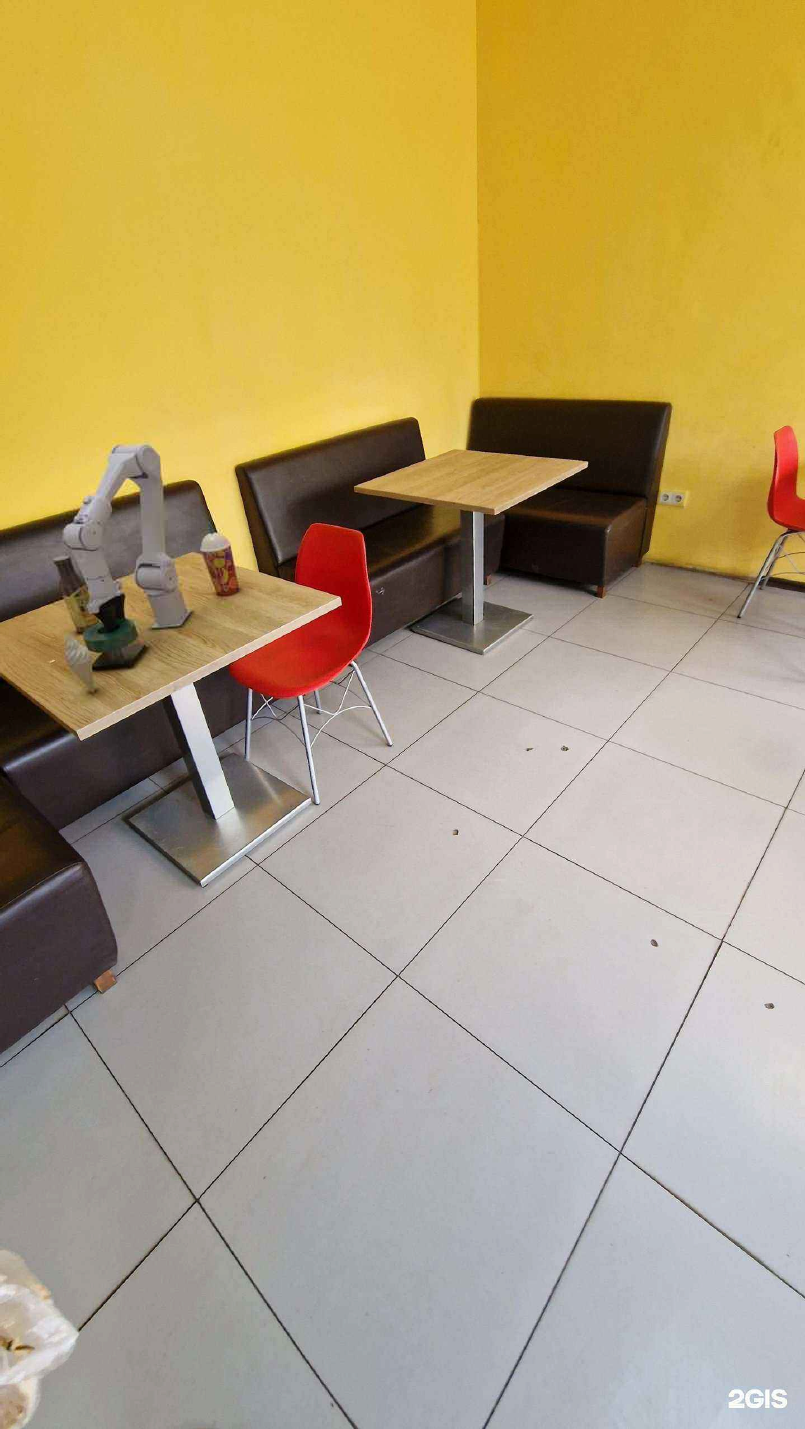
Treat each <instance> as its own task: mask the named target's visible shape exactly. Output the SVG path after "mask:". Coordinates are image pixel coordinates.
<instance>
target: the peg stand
mask: <svg viewBox="0 0 805 1429" xmlns="http://www.w3.org/2000/svg"><path fill="white" fill-rule="evenodd" d="M147 649H148V646H147V644H146V643H139V644H129V645H127V646H126V647H124V648H121V649H117V650H114V651H111V652H102V653H100V655H99V656H98V657H97V658H96V659H95V660H94V661H93V662H92V663H91V664H92V672H95V671H111V670H121V669H132V668H133V667H134V665H135V664H136V663H137V662H138V661H139V659H140V658H141V657H142V656H143V654H144V653H145V652H146V650H147Z"/></svg>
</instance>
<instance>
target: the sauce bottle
mask: <svg viewBox="0 0 805 1429" xmlns="http://www.w3.org/2000/svg"><path fill="white" fill-rule="evenodd" d="M52 561H53V563H54V565H55V566H56V569H57V571H58V574H59V576H60V578H59V583H58V584H59V586H58V587H59V589H60V591H61V594H62V597H63V600H64V603H65V605H66V607H67V610H68V612H69V615H70V618H71V621H72V622H73V625H74V627H75V628H76V631H77V632H79V633H82V634H83V633H84V632H85V631H86V630H87V629H88V628H89V627H91V626H93V625H95V624H97V623H99V622H100V620H99V619H98V618H97V617H96V616H95V615H93V614H92V613H91V614H90V613H89V611H88V609H87V605H88V604H89V600H90V596H91V594H90V592H89V589H88V587H87V584H86V583H85V582H84V581H83V580H82V579H81V577H80V576H79V574H78V573H77V572H76V570H75V567H74V564H73V561H72V558H71V556H70V555H68V554H67V555H60V556H57V557H55V558H53V560H52Z"/></svg>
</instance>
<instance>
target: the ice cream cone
mask: <svg viewBox="0 0 805 1429" xmlns="http://www.w3.org/2000/svg"><path fill="white" fill-rule="evenodd" d="M64 647H66V649H65V650H64V652H63V653H64V654H65V655H64V656H63V657H64V659H67V660H66V661H65V662H66V665H67V666H68V667H69V668H70V669H71V670H72V672H73V673H74V674H75V675H77V677H78V678H79V680H80V681H81V682H82V683H83V684H84V685H85V686H86V688H88V690H89V691H90V692H91V693H94V692H95V685H94V684H95V683H94V674H93V673H94V672H93V671H92V664H93V663H92V655H91V654H90V651H89V650H88V648H87V647H86V646H84V645H82V644H80V643H79V641H78V640H77V639H75V638H74V637H73V636H71V635H70V633H69V632H68V631H65V645H64Z"/></svg>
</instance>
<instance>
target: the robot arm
mask: <svg viewBox="0 0 805 1429" xmlns="http://www.w3.org/2000/svg"><path fill="white" fill-rule="evenodd" d="M107 462H108V464H107V467H106V470H105V472H104V474H103V476H102V478H101V481H100V483H99V485H98V487H97V490H96V492H95V494H91V495H87V497H84V498H83V500H82V503H83V504H82V505H81V507H80V509H79V511H78V512H77V514H76V515H75V516H74V517H73V522H72V523H68V524H67V525H66V526H65V527H64V528H63V530H62V540H61V541H62V544H63V545H64V547H65V548H67V549H68V550H69V551H71V554H72V557H74V558H75V560H76V562H77V564H78V567H79V570H80V572H81V574H82V578H83V580H84V581H85V582H84V583H85V585H86V587H87V590H88V592H89V595H90V600H89V604H88V605H87V609H88V611H89V613H90V614H91V613H92V614H93V615H95V616H96V617H97V618H98V619H99V622H102V623H103V624H104V626H105V627H106V628H107V630H108V631H109V632H110V633H111V632H114V631H116V630H118V629H119V628H118V624H117V621H116V619H117V618H126V613H125V601H126V594H125V593H124V592H122V590H123V588H124V587H123V585H122V582H121V580H115V581H114V580H113V577H112V575H111V571H110V569H109V566H108V564H107V562H106V558H105V556H104V554H103V551H102V548H101V546H102V544H103V540H104V539H103V538H104V537H103V533H104V527H105V526H106V524H107V522H108V520H109V518H110V516H111V514H112V512H113V507H112V505H111V502H112V501H113V500H114V499H115V496H116V495H117V494H118V492H119V490H120V489H121V488H122V486H123V484H124V483H125V481H126V480H127V479H128V480H130V481H131V482H133V483H134V484H135V485H136V486H137V487H138V488H139V502H140V520H141V540H142V553H141V554H140V555H139V556H138V558H137V559H136V560H135V561H136V562H135V565H136V566H135V570H134V573H133V578H134V583H135V585H136V586H137V587H138V588H139V589H142V590H143V594H146V597H147V599H148V602H149V605H150V608H151V611H152V613H153V617H154V620H155V622H154V623H153V624H152V625H151V629H163V628H165V629H166V628H176V627H181V626H182V625H183V624H184V622H185V620H186V619H187V618H188V616H189V615H190V614H191V612H192V610H191V609H188V608H187V605H186V602H185V599H184V596H183V592H182V590H181V588H180V587H178V583H179V575H178V571H177V570H176V562H175V560H173V559H172V558H171V557H170V556H169V555H168V554H167V553H166V552H167V551H166V528H165V525H166V524H165V505H164V504H165V503H164V481H163V478H162V469H161V468H162V466H161V456H160V455H159V453H158V452H157V451H156V450H155V448H154V447H152V446H151V445H150V444H146V443H145V444H139V445H138V444H137V445H136V444H135V445H119V444H117V445H114V446H113V447H112V449H111V450H110V453H109V454H108V455H107Z"/></svg>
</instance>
